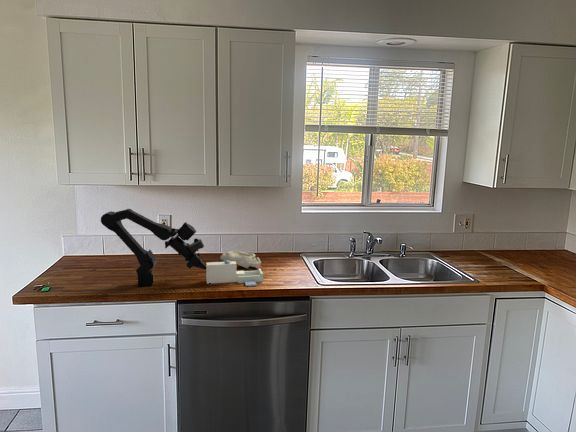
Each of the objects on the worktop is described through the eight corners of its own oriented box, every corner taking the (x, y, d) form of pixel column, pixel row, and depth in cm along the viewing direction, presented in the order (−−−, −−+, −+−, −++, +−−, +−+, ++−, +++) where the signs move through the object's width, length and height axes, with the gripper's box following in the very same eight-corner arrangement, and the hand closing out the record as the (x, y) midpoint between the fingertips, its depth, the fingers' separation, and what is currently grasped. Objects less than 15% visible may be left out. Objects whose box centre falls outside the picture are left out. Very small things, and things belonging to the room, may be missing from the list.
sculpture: (222, 269, 237) (214, 268, 222) (222, 250, 238) (215, 248, 224) (265, 268, 234) (260, 267, 219) (265, 249, 236) (260, 247, 221)
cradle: (239, 287, 195) (239, 278, 194) (234, 274, 213) (234, 266, 213) (265, 285, 197) (265, 277, 197) (258, 272, 216) (258, 265, 215)
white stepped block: (206, 283, 198) (206, 263, 197) (206, 280, 203) (206, 261, 201) (244, 281, 203) (244, 261, 201) (243, 278, 207) (243, 259, 205)
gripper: (193, 239, 186) (219, 261, 191) (193, 230, 204) (216, 251, 209) (175, 257, 186) (201, 279, 190) (176, 246, 204) (200, 267, 208)
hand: (205, 268), depth 199 cm, fingers closed
